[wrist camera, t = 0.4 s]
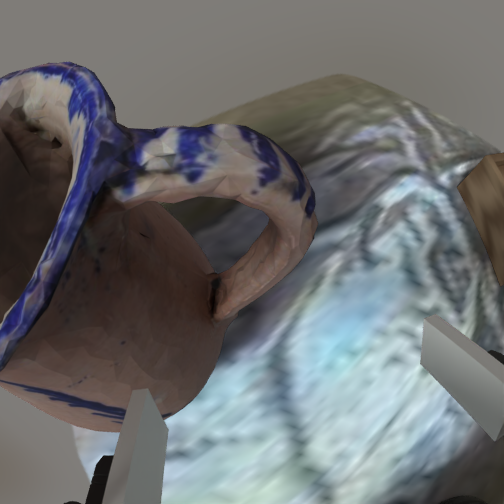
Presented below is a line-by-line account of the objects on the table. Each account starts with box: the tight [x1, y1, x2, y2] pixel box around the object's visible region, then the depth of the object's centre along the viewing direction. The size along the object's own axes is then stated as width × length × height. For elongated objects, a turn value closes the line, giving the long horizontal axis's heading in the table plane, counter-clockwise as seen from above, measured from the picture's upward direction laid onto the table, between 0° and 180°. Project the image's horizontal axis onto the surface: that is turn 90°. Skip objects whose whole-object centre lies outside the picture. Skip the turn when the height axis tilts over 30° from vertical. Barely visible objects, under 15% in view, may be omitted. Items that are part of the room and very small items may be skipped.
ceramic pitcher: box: [0, 62, 318, 432], centre depth 18 cm, size 18×21×25 cm
